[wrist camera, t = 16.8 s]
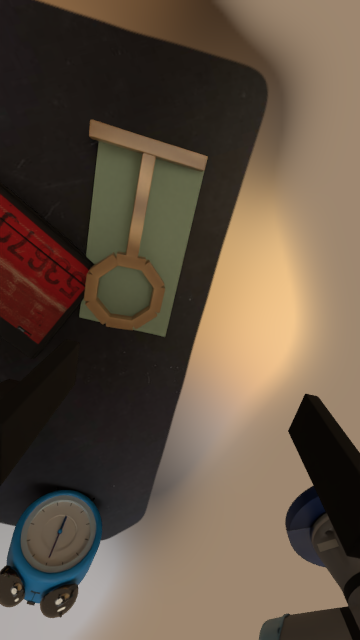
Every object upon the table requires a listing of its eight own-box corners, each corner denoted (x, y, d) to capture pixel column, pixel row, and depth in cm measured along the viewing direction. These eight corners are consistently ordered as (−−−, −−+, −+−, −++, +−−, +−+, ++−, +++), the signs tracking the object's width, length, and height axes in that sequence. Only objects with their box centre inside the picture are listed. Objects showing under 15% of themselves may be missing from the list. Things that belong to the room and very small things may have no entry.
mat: (165, 335, 38) (165, 336, 38) (80, 316, 38) (79, 317, 37) (206, 160, 31) (206, 159, 30) (100, 132, 30) (99, 131, 30)
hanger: (163, 330, 38) (164, 335, 36) (72, 317, 35) (69, 321, 34) (204, 158, 30) (208, 156, 29) (92, 122, 27) (90, 118, 26)
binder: (30, 361, 37) (-116, 254, 33) (39, 354, 39) (-97, 253, 35) (102, 274, 33) (-53, 141, 29) (107, 272, 35) (-37, 147, 31)
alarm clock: (112, 499, 50) (81, 610, 36) (103, 520, 52) (70, 633, 38) (41, 478, 48) (-19, 584, 34) (35, 500, 50) (-25, 609, 36)
